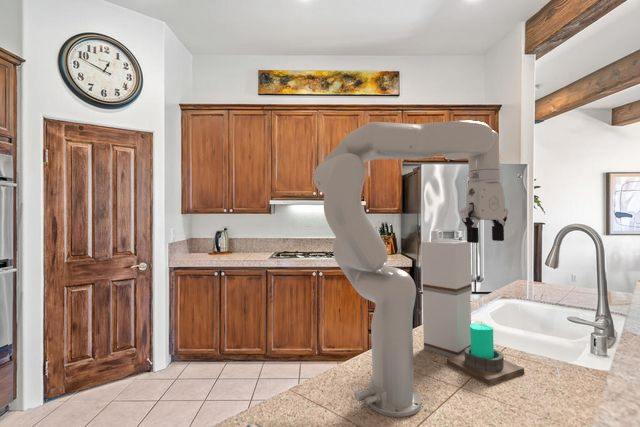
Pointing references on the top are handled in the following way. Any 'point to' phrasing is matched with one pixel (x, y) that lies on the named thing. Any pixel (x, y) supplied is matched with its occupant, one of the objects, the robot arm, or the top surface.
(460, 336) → the tall banded pillar
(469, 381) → the top surface
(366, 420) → the top surface
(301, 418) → the top surface
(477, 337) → the candle
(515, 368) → the candle stand
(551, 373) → the top surface
